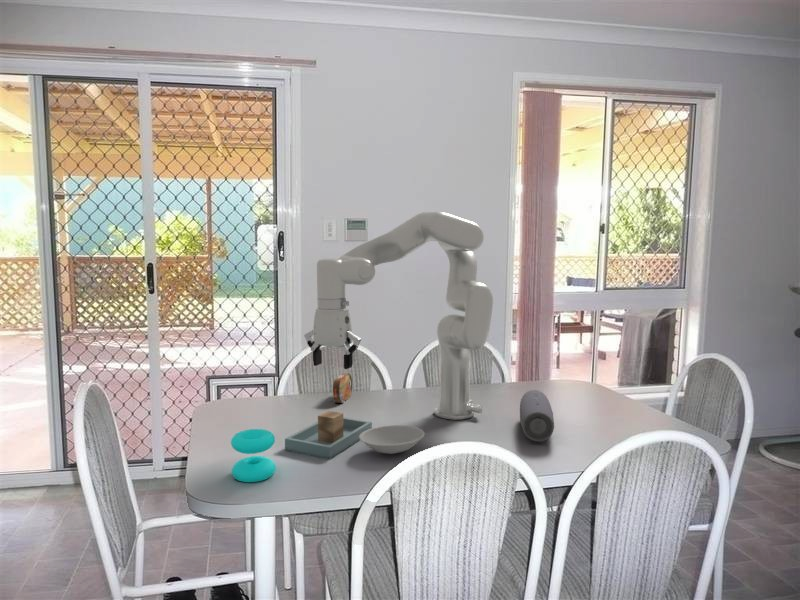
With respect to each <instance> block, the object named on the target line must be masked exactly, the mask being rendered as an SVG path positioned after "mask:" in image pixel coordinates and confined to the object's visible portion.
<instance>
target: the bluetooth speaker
mask: <svg viewBox="0 0 800 600" xmlns="http://www.w3.org/2000/svg"><path fill="white" fill-rule="evenodd" d="M554 420H555V419H554V412H553V408H552V405H551V404H550V401H549V399H548V397H547V395H545V393H543V392H542V391H541V390H537V389H532V390H528V391H526V392H525V393H524V394H523V396H522V397H521V399H520V404H519V421H520V425H521V428H522V431H523V433H524V435H525V436H526V437H527V438H528V439H529V440H531V441H534V442H545V441H547V440H549V439H550V437H551V436H552V435H553V432H554V430H555V421H554Z"/></svg>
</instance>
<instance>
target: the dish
mask: <svg viewBox="0 0 800 600" xmlns="http://www.w3.org/2000/svg"><path fill="white" fill-rule="evenodd" d="M425 435H426V433H425V431H424V430H423V429H422V428H419V427H417V426H411V425H404V424H403V425H402V424H392V425H391V424H388V425H380V426H376V427H372V428H371V429H368V430H366V431H364V432H362V433H361V434H360V435H359V439H360V442H362V443H364V444H365V445H366V447H368V448H369V449H371V450H373V451H375V452H378V453H382V454H389V455H395V454H398V453H402V452H406V451H408V450H410V449H411V448H413V447H414V446H415V445H416V444H417V443H419V441H420V440H422V439H423V438H424V437H425Z"/></svg>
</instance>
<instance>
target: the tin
mask: <svg viewBox="0 0 800 600" xmlns="http://www.w3.org/2000/svg"><path fill="white" fill-rule="evenodd" d="M352 391H353V379H352V375H351V373H349V372H348V373H341V374H340V375H339V376H337V378H335V379H334V381H333V384H332V394H333V401H334V403H336V404H344V403H345V402H346V401H347V400H348V399H349V398H350V397H351V395H352V393H353V392H352ZM348 397H349V398H348ZM347 398H348V399H347ZM346 399H347V400H346ZM345 400H346V401H345ZM344 401H345V402H344ZM343 402H344V403H343Z"/></svg>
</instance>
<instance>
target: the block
mask: <svg viewBox="0 0 800 600" xmlns="http://www.w3.org/2000/svg"><path fill="white" fill-rule="evenodd" d="M343 417H344V412H339V411H332V410H327V411H324V412H323V413H321V414H319V415H317V422H318V441H323V442H328V443H334V442H335V441H337V440H339V439H340V438H342V437H343Z"/></svg>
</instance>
